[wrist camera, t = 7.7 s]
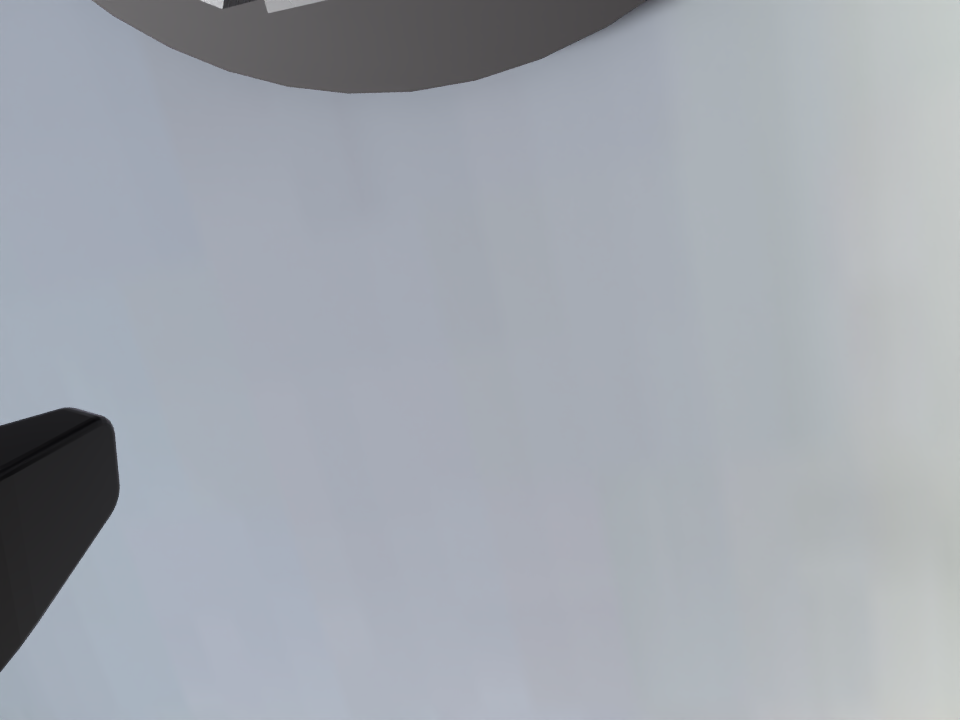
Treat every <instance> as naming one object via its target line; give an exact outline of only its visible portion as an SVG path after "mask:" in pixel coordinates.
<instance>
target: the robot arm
mask: <svg viewBox="0 0 960 720" xmlns="http://www.w3.org/2000/svg"><path fill="white" fill-rule="evenodd" d="M119 489H120V484H119V473H118V463H117V452H116V441H115V432H114V428H113V426H112V424H111V422H110V421H109V420H108V419H107V418H105V417H104V416H101V415H97V414H94V413H90V412H87V411H84V410H80V409H77V408H70V407H69V408H61V409H57V410H54V411H50V412H47V413H43V414H40V415H36V416H33V417H29V418H26V419H22V420H19V421H15V422H11V423H8V424H4V425H1V426H0V672H1V671H2V670H3V668H4V667H5V666H6V665H7V663H8V662H9V661H10V660H11V658H12V657H13V656H14V654H15V653H16V652H17V651H18V649H19V648H20V647H21V646H22V644H23V643H24V642H25V640H26V639H27V637H28V636H29V635H30V633H31V632H32V630H33V629H34V628H35V626H36V625H37V624H38V622H39V621H40V619H41V618H42V616H43V615H44V613H45V612H46V610H47V609H48V607H49V606H50V604H51V603H52V601H53V600H54V598H55V597H56V595H57V594H58V592H59V591H60V590H61V588H62V587H63V585H64V584H65V582H66V581H67V579H68V578H69V576H70V575H71V573H72V572H73V570H74V569H75V567H76V566H77V564H78V563H79V561H80V560H81V558H82V557H83V555H84V554H85V552H86V551H87V550H88V548H89V547H90V545H91V544H92V542H93V541H94V539H95V538H96V536H97V535H98V533H99V532H100V530H101V529H102V527H103V526H104V524H105V523H106V521H107V520H108V518H109V517H110V515H111V514H112V512H113V510H114V508H115V506H116V503H117V500H118V497H119Z"/></svg>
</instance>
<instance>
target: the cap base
mask: <svg viewBox="0 0 960 720" xmlns="http://www.w3.org/2000/svg"><path fill="white" fill-rule="evenodd" d="M92 1H94V2H95V3H96V4H98V5H99V6H101V7H102V8H103V9H105V10H106V11H107V12H109V13H110V14H112V15H113V16H114V17H116V18H118V19H120V20H122V21H123V22H125V23H127V24H129V25H131V26H132V27H134V28H136V29H138V30H139V31H141V32H143V33H145V34H147V35H148V36H150V37H152V38H154V39H156V40H157V41H159V42H161V43H163V44H164V45H166V46H168V47H170V48H172V49H175V50H177V51H180V52H182V53H185V54H187V55H189V56H192V57H194V58H197V59H199V60H202V61H204V62H207V63H209V64H212V65H214V66H217V67H219V68H221V69H224V70H226V71H230V72H233V73H237V74H241V75H245V76H249V77H253V78H257V79H260V80H264V81H268V82H272V83H276V84H280V85H284V86H288V87H297V88H305V89H314V90H323V91H331V92H340V93H381V92H412V91H418V90H423V89H429V88H435V87H441V86H446V85H452V84H458V83H463V82H469V81H475V80H478V79H481V78H484V77H487V76H490V75H493V74H497V73H500V72H503V71H506V70H509V69H512V68H515V67H518V66H521V65H524V64H527V63H530V62H533V61H536V60H539V59H542V58H544V57H546V56H548V55H550V54H552V53H554V52H556V51H558V50H560V49H562V48H564V47H566V46H568V45H571V44H573V43H575V42H577V41H579V40H581V39H583V38H585V37H587V36H589V35H591V34H593V33H595V32H597V31H599V30H601V29H603V28H605V27H607V26H609V25H610V24H612V23H613V22H615V21H616V20H618V19H619V18H621V17H622V16H624V15H625V14H627V13H628V12H630V11H631V10H633V9H634V8H636V7H637V6H639V5H640V4H642V3H643V2H645V1H646V0H325V1H321V2H316V3H312V4H307V5H303V6H298V7H294V8H289V9H285V10H280V11H276V12H272V13H268V11H267V8H266V4H265V1H264V0H256V1H252V2H248V3H244V4H240V5H236V6H233V7H229V8H225V9H221V8H218V7H216V6H213V5H211V4H208V3H206V2H203V1H201V0H92Z"/></svg>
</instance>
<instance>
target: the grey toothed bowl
mask: <svg viewBox="0 0 960 720" xmlns="http://www.w3.org/2000/svg"><path fill="white" fill-rule="evenodd" d="M201 1H203V2H206V3H208V4H211V5H213V6H216V7H218V8H221V9H225V8H229V7H233V6H236V5H240V4H244V3H248V2H252V1H256V0H201ZM264 1H265V4H266V8H267V11H268V13H272V12H276V11H280V10H285V9H289V8H294V7H298V6H303V5H307V4H312V3H316V2H321V1H325V0H264Z"/></svg>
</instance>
